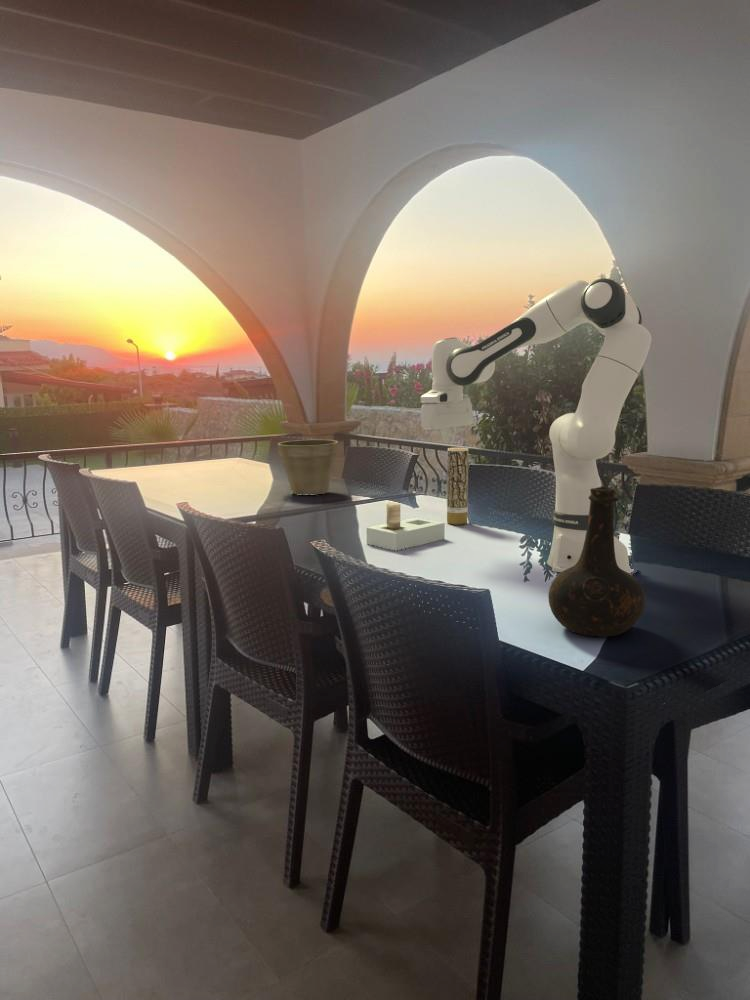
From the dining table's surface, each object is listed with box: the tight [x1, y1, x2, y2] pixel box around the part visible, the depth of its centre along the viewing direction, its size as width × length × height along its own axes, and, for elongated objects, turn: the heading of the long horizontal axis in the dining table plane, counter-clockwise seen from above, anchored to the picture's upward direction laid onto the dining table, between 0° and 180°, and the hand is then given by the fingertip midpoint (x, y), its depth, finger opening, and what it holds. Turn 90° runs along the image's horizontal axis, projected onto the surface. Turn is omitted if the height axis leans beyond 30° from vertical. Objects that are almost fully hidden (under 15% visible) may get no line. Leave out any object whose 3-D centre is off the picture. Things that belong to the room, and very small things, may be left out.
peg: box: [386, 502, 401, 531], centre depth 212 cm, size 4×4×12 cm
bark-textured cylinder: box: [446, 447, 469, 526], centre depth 240 cm, size 7×7×25 cm
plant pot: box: [277, 439, 339, 495], centre depth 304 cm, size 25×25×22 cm
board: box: [366, 517, 446, 552], centre depth 217 cm, size 12×21×5 cm, turn 134°
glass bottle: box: [547, 486, 646, 638], centre depth 140 cm, size 18×18×28 cm
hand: (448, 442), depth 214 cm, fingers closed
